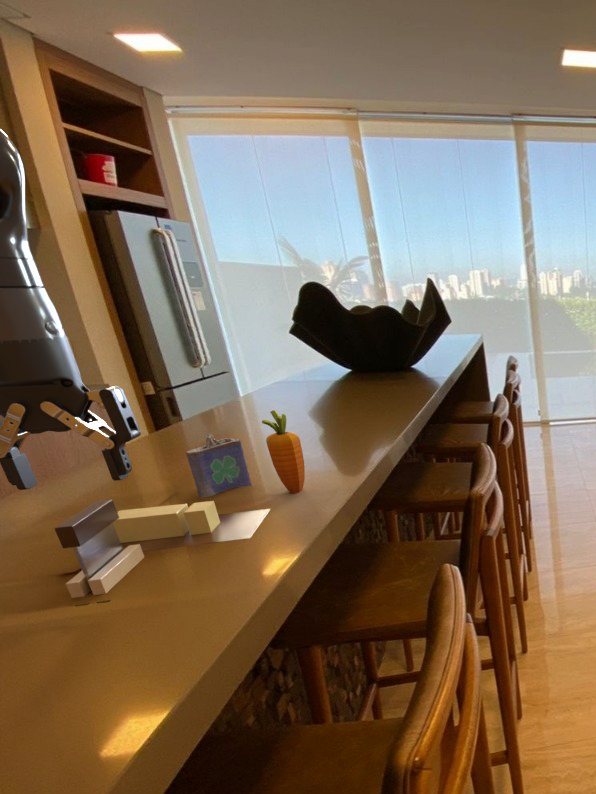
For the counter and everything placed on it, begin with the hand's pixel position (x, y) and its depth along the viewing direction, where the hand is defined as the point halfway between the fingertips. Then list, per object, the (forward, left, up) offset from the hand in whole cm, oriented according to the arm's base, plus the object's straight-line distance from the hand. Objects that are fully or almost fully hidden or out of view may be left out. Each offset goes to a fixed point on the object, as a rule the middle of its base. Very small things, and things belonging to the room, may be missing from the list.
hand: (75, 483), depth 64 cm
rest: (0, 0, -13) cm, 13 cm away
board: (+4, +13, -13) cm, 19 cm away
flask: (+3, +33, -13) cm, 36 cm away
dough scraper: (0, 0, -13) cm, 13 cm away
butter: (0, +13, -12) cm, 18 cm away
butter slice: (+6, +13, -12) cm, 18 cm away
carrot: (+15, +27, -13) cm, 33 cm away
